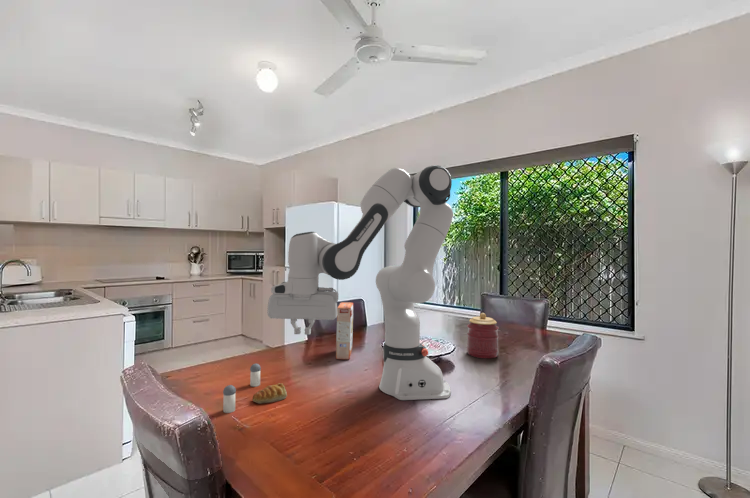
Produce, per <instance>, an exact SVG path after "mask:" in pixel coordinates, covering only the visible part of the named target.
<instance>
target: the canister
mask: <svg viewBox="0 0 750 498" xmlns="http://www.w3.org/2000/svg"><path fill="white" fill-rule="evenodd" d="M468 322H469V323H468V324H467V325H466V327H467V332H466V337H467V339H466V341H467V342H466V353H467V355H469V356H471V357H473V358H479V359H495V358H497V357H498V355H499V336H500V335H499V334H498V331H499V329H500V327H499V326H497V323H498V322H497V321H496V320H495V319H494V318H492V317H487V315H486V313H484V312H481V313H480V314H479V316H473V317H471V318H470V319H469V320H468Z"/></svg>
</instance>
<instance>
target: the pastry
mask: <svg viewBox="0 0 750 498" xmlns="http://www.w3.org/2000/svg"><path fill="white" fill-rule="evenodd" d="M287 397H288V393H287V390H286V386H285V385H284V383H280V382H279V383H277V384H272V385H267V386H265V387H264V388H263V389H260V390H258V391H257V392H256V393H255V392H254V393H253V395H252V399H251V400H252V401H253V402H254V403H256V404H260V405H261V404H270V403H274V402H279V401H282V400H285V399H286V398H287Z"/></svg>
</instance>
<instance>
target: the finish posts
mask: <svg viewBox="0 0 750 498" xmlns="http://www.w3.org/2000/svg"><path fill="white" fill-rule="evenodd" d="M261 369H262V367H261V365H260V364H259V363H253V364H252V365H250V369H249V370H250V373H249V374H250V382H249V385H250V387H252V388H253V387H254V388H256V387H259V386H261ZM236 392H237V388H236V387H235V386H234V385H232V384H229V385H226V386H225V387H224V388H223V391H222V394H223V401H222V403H223V407H222V409H223V410H222V411H223V413H225V414H230V413H233V412H235V411H236Z"/></svg>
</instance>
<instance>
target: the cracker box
mask: <svg viewBox="0 0 750 498" xmlns="http://www.w3.org/2000/svg"><path fill="white" fill-rule="evenodd" d="M337 311H338V315H337V317H336V336H335V337H336V339H335V341H336V342H335V346H336V347H335V360H348V361H349V360H350V359H351V355H352V351H353V336H354V335H353V333H354V332H353V331H354V330H353V329H354V302H352V301H351V302H350V301H349V302H348V301H346V302H339V304H338V305H337Z"/></svg>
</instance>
